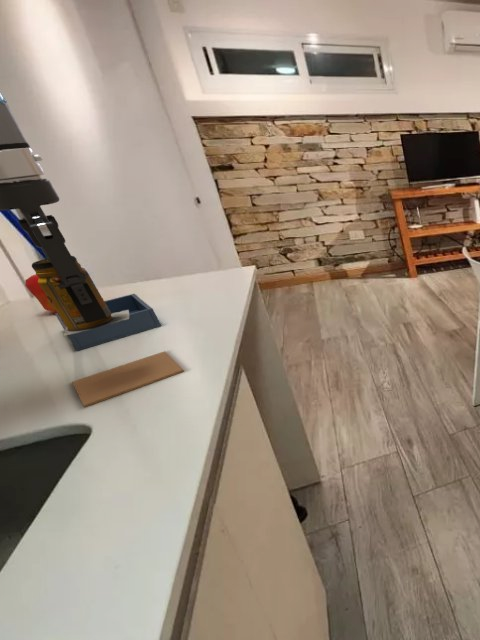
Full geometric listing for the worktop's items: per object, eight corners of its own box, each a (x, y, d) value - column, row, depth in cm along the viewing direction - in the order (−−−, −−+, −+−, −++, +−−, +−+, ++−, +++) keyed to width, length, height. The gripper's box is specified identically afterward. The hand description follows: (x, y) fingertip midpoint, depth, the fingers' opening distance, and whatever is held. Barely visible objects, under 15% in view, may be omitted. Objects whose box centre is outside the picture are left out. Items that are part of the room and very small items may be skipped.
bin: (77, 350, 102) (65, 332, 100) (65, 330, 114) (54, 313, 112) (161, 325, 112) (152, 308, 110) (143, 309, 124) (134, 293, 122)
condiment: (66, 325, 84) (26, 260, 79) (129, 310, 89) (94, 248, 84) (63, 337, 79) (20, 269, 74) (130, 320, 84) (93, 255, 79)
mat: (84, 407, 81) (83, 405, 80) (73, 383, 89) (71, 381, 88) (184, 371, 90) (183, 369, 90) (165, 352, 98) (164, 351, 98)
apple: (71, 304, 132) (46, 263, 127) (97, 303, 131) (73, 262, 126) (35, 316, 124) (7, 273, 119) (63, 316, 123) (36, 272, 118)
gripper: (54, 178, 71) (132, 319, 81) (41, 174, 82) (111, 299, 92) (-22, 187, 65) (71, 336, 76) (-25, 182, 76) (57, 312, 87)
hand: (93, 315), depth 84 cm, fingers closed on condiment, 6 cm apart
